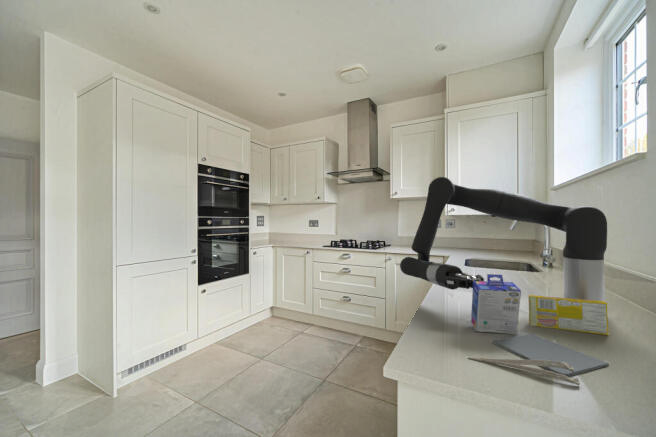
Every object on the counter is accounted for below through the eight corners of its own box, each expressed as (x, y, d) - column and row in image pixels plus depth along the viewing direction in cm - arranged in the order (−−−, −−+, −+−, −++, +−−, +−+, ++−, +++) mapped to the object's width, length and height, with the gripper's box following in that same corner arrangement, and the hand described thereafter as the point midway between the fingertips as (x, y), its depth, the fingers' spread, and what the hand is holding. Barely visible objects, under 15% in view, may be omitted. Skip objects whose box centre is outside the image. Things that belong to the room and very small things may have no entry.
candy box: (604, 332, 70) (604, 300, 70) (609, 336, 68) (608, 303, 68) (528, 323, 76) (528, 294, 76) (530, 325, 74) (530, 295, 74)
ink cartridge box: (508, 321, 73) (513, 273, 70) (518, 335, 68) (524, 283, 65) (469, 319, 75) (472, 271, 72) (475, 332, 70) (479, 281, 67)
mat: (531, 335, 68) (531, 333, 68) (608, 365, 54) (608, 363, 54) (492, 342, 64) (492, 340, 64) (564, 377, 50) (564, 374, 50)
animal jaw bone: (572, 368, 51) (571, 359, 50) (581, 388, 47) (580, 379, 46) (469, 355, 59) (467, 347, 59) (468, 371, 55) (467, 363, 55)
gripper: (427, 264, 87) (470, 274, 71) (459, 262, 91) (507, 271, 75) (427, 288, 87) (470, 303, 71) (460, 284, 91) (508, 298, 75)
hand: (489, 287), depth 73 cm, fingers closed
